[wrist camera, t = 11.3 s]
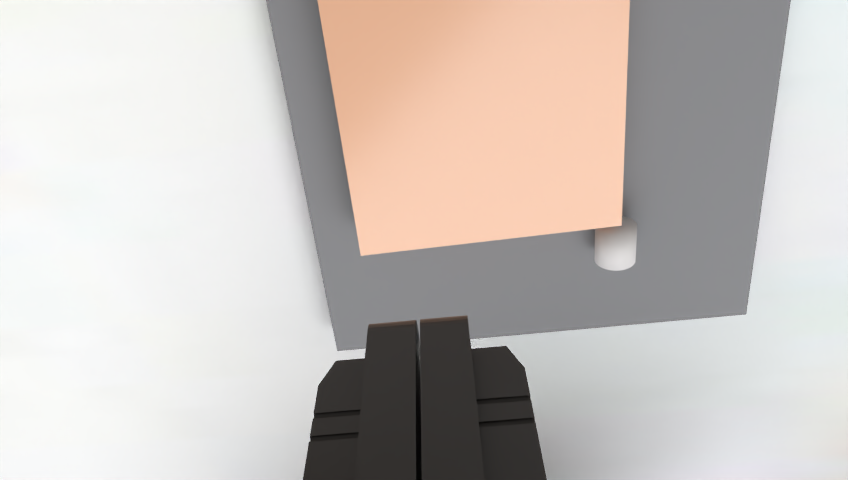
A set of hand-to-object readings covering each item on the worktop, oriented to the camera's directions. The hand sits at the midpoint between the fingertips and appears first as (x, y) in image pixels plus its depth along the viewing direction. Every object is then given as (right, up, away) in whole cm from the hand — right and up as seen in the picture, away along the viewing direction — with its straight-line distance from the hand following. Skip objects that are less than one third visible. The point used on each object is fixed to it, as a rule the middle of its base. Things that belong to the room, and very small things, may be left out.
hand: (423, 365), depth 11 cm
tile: (+2, +8, +13) cm, 16 cm away
